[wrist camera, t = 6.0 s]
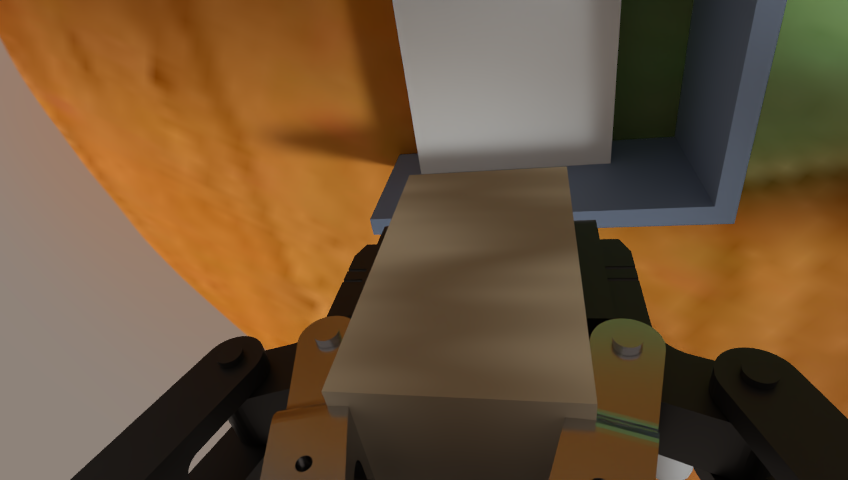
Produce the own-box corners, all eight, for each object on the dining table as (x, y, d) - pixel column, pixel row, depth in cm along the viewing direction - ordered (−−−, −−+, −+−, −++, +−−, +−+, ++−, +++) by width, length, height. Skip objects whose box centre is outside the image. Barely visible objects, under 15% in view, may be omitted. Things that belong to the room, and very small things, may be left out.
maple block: (566, 166, 12) (597, 404, 7) (565, 290, 15) (587, 547, 9) (409, 175, 13) (321, 390, 8) (430, 290, 15) (374, 523, 10)
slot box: (736, -135, 23) (819, -141, 16) (690, 150, 30) (734, 223, 24) (356, -71, 26) (302, -55, 20) (402, 168, 34) (373, 234, 28)
